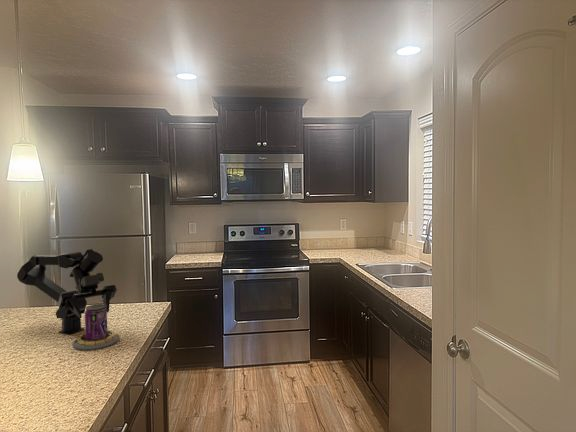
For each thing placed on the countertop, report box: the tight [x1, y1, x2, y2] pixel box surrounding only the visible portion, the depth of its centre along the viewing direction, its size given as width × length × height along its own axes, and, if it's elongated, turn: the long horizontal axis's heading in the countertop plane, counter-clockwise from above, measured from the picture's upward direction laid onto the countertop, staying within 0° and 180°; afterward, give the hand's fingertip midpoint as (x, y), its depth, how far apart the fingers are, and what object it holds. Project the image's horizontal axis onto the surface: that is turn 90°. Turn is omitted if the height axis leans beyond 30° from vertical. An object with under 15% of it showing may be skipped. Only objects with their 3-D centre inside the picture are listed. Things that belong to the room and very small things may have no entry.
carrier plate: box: [72, 329, 120, 352], centre depth 138 cm, size 15×15×2 cm
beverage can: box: [84, 303, 108, 341], centre depth 138 cm, size 7×7×12 cm
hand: (94, 314), depth 138 cm, fingers open, 9 cm apart
